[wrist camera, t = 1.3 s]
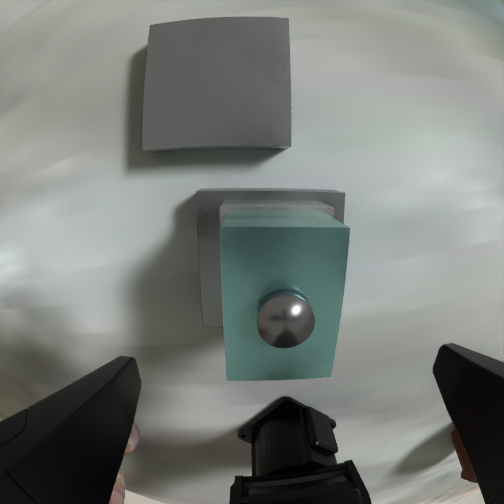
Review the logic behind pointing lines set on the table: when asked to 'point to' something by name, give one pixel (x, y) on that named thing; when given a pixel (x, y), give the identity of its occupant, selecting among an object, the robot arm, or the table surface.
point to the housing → (281, 288)
